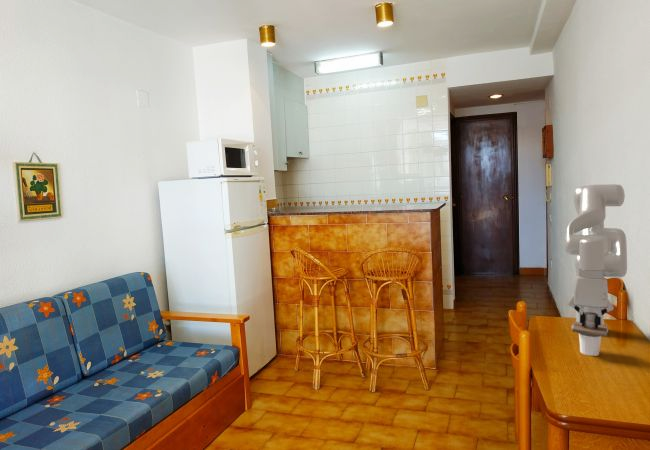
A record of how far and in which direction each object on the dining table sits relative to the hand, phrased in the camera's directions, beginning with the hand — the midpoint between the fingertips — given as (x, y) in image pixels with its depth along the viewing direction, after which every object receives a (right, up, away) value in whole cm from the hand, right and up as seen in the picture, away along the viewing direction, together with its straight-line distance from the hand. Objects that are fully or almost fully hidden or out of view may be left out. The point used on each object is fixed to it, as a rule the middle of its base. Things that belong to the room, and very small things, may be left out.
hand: (590, 325), depth 158 cm
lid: (0, -1, 0) cm, 1 cm away
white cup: (0, -10, +1) cm, 10 cm away
